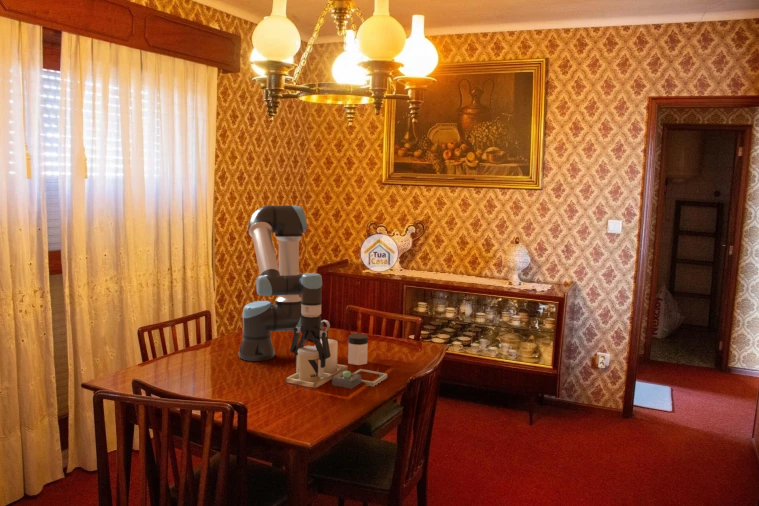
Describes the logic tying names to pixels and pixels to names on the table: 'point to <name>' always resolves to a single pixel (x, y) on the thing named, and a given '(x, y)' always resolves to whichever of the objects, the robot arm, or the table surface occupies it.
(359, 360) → the jar
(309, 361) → the coffee cup
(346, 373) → the button
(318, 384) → the tray
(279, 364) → the table surface
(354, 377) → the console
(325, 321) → the mug
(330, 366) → the billet
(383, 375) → the beige square frame
